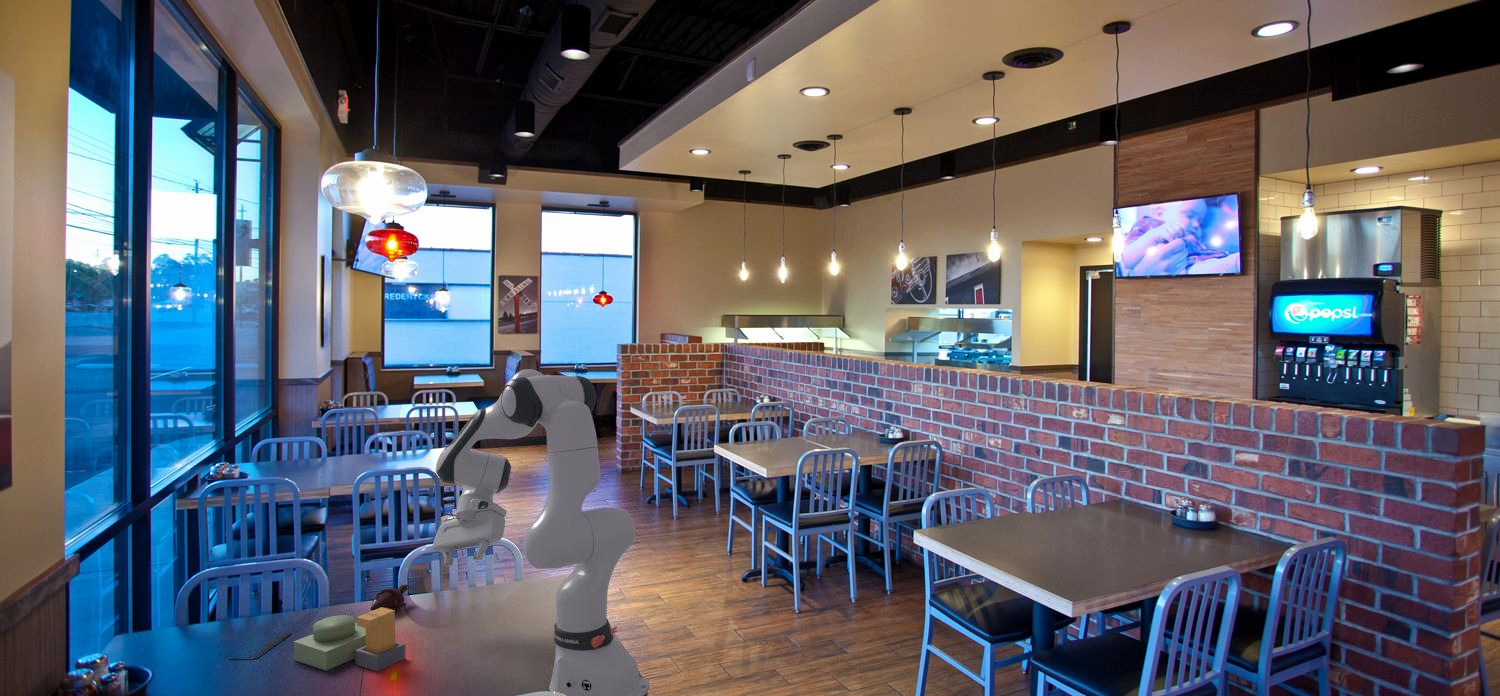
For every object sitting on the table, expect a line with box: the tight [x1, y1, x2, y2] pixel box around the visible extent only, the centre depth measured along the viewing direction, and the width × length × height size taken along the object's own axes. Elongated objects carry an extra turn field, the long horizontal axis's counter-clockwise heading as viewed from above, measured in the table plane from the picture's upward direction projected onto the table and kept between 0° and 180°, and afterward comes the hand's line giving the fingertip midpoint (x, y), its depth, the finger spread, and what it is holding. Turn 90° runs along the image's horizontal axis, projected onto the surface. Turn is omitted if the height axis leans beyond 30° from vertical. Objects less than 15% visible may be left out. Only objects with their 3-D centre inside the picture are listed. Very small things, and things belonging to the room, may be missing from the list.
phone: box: [227, 631, 292, 658], centre depth 190 cm, size 7×1×15 cm
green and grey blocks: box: [293, 614, 406, 672], centre depth 183 cm, size 23×14×8 cm, turn 63°
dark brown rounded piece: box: [369, 584, 409, 612], centre depth 211 cm, size 7×7×15 cm
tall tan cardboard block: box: [356, 607, 396, 655], centre depth 181 cm, size 4×7×12 cm, turn 155°
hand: (462, 562), depth 195 cm, fingers open, 8 cm apart
